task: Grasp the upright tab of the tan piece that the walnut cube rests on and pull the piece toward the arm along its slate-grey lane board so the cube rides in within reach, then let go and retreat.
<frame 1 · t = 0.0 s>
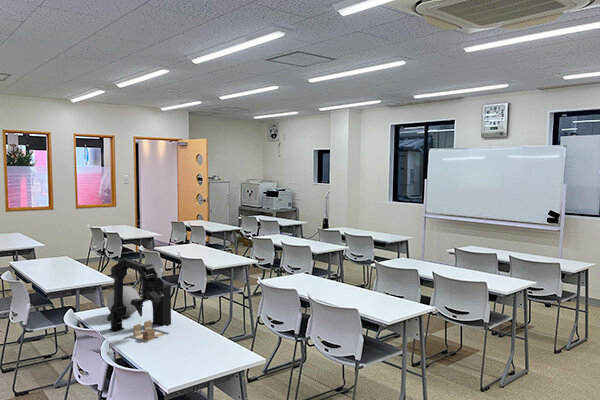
hand: (147, 314, 256), 15 cm above the table, fingers open, 9 cm apart
black rectangular block: (162, 325, 280), on the table
cube: (148, 338, 254), point 1 cm above the table, touching tan piece
lane board: (149, 337, 260), on the table
moon model: (123, 316, 296), on the table
tan piece: (143, 332, 256), point 4 cm above the table, slide at 0.0 cm, touching cube
strip broken: (154, 335, 263), resting on lane board
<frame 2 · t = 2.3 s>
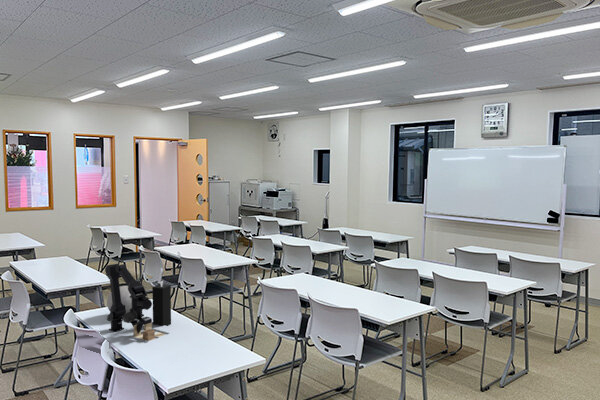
hand: (137, 333, 259), 3 cm above the table, fingers closed, pressing on tan piece
tan piece: (143, 332, 256), point 4 cm above the table, slide at 0.0 cm, touching cube, gripper
everything else where it was.
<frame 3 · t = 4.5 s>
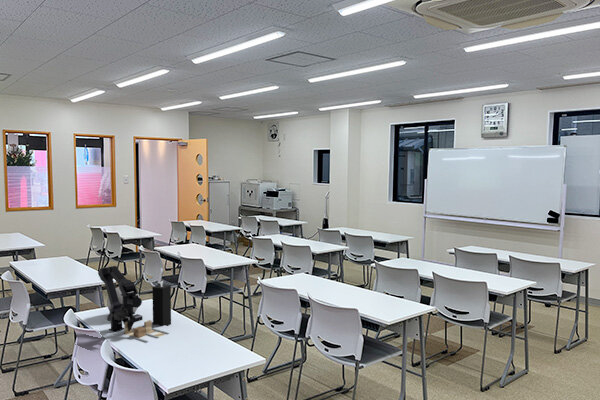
hand: (128, 330, 264), 3 cm above the table, fingers closed on tan piece, 2 cm apart
cube: (139, 335, 259), point 1 cm above the table, touching tan piece
tan piece: (134, 330, 260), point 4 cm above the table, slide at 8.0 cm, touching cube, gripper
everything else where it was.
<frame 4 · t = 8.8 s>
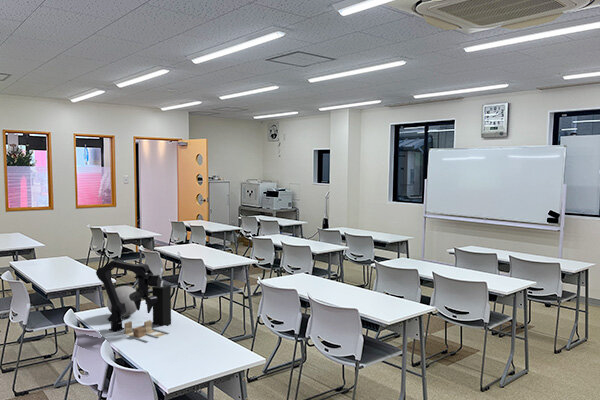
hand: (143, 311, 269), 12 cm above the table, fingers open, 9 cm apart
tan piece: (134, 330, 260), point 4 cm above the table, slide at 8.0 cm, touching cube
everything else where it was.
at the end: tan piece slide at 8.0 cm; cube inside the target area (0.1 cm from its centre), point 1.5 cm above the table; cube tilted 0° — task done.
